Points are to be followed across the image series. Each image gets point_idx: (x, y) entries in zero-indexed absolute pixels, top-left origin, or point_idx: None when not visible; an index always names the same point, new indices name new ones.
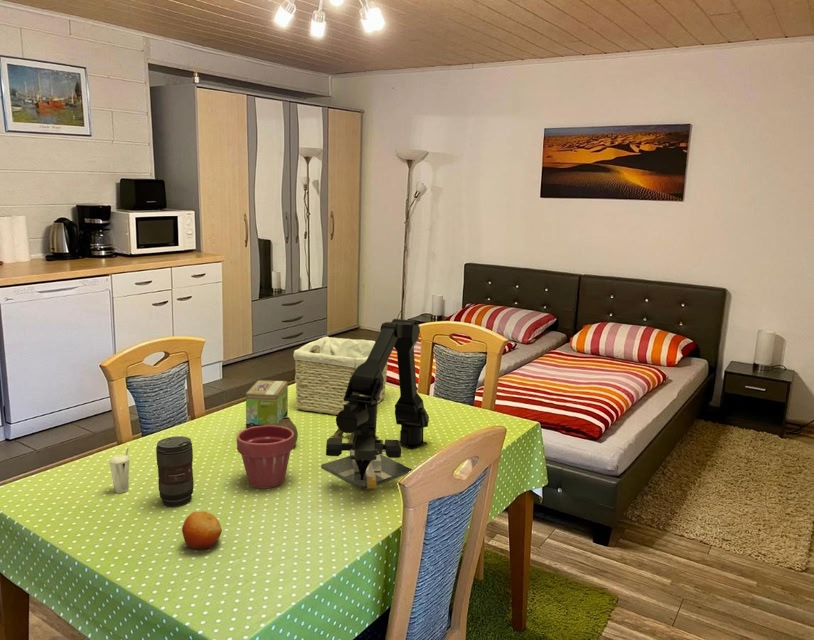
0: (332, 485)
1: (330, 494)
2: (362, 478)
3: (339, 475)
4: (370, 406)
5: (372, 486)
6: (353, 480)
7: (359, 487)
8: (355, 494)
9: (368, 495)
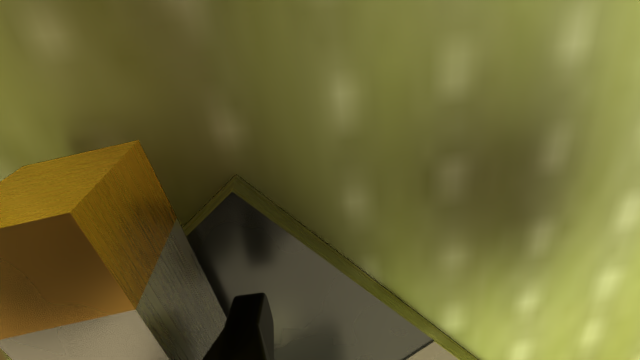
0: (523, 228)
1: (576, 36)
2: (239, 307)
3: (463, 358)
4: None
5: (54, 165)
6: (345, 303)
7: (268, 206)
8: (289, 64)
9: (119, 51)
